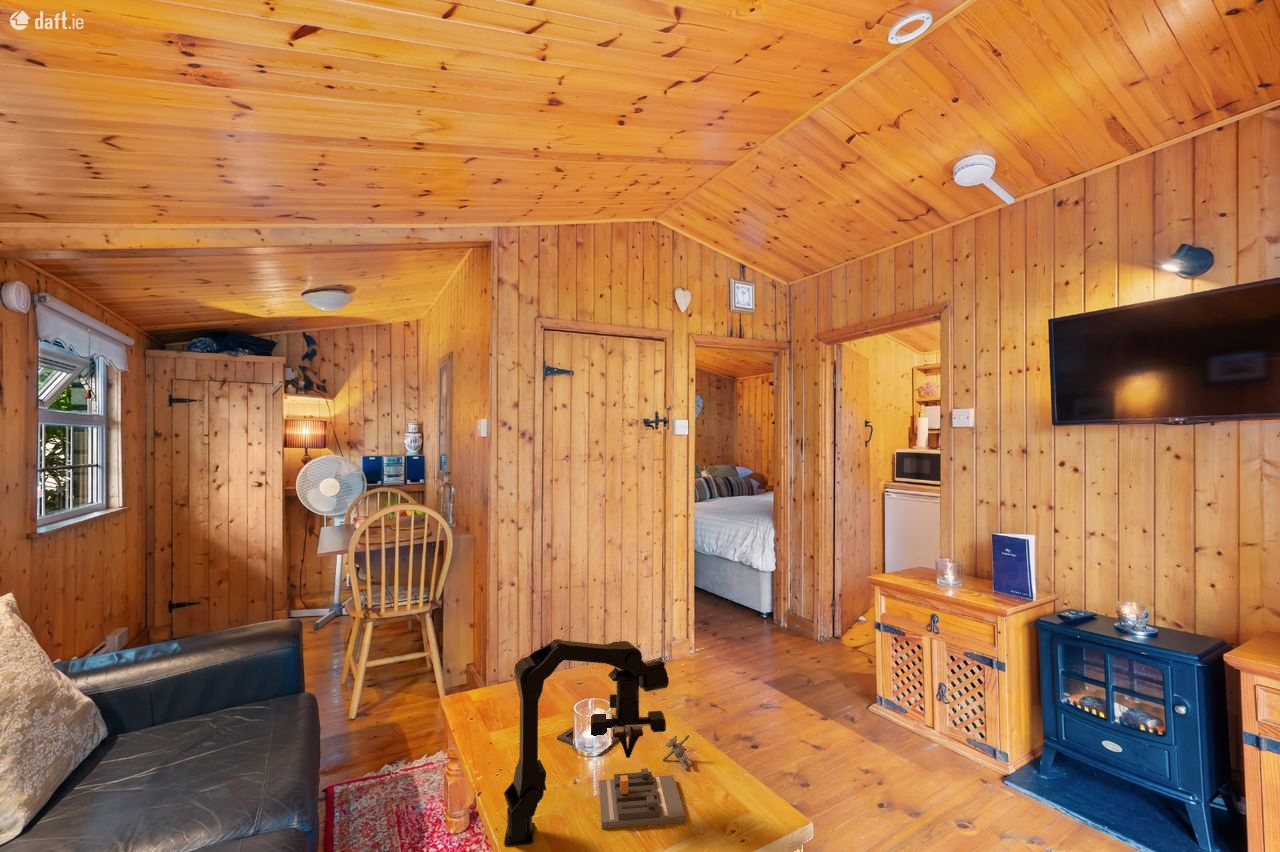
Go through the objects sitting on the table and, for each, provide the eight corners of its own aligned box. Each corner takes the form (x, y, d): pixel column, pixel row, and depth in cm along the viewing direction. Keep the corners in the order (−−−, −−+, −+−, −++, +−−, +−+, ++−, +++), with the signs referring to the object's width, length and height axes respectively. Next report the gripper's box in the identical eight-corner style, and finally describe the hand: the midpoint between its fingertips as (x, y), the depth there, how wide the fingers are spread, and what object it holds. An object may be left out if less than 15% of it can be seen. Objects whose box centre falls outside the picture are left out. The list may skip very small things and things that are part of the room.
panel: (685, 822, 138) (684, 803, 138) (601, 828, 136) (601, 809, 136) (673, 780, 155) (673, 763, 155) (599, 786, 153) (598, 768, 153)
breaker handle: (628, 793, 144) (628, 780, 144) (621, 794, 144) (620, 781, 144) (627, 788, 147) (627, 775, 147) (620, 788, 146) (620, 775, 146)
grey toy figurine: (670, 775, 158) (654, 749, 165) (679, 783, 161) (663, 757, 168) (697, 749, 160) (680, 724, 167) (706, 757, 163) (689, 733, 170)
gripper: (659, 679, 155) (660, 738, 155) (590, 683, 153) (590, 742, 153) (666, 698, 144) (666, 761, 143) (591, 701, 142) (591, 766, 141)
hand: (627, 757), depth 146 cm, fingers closed
